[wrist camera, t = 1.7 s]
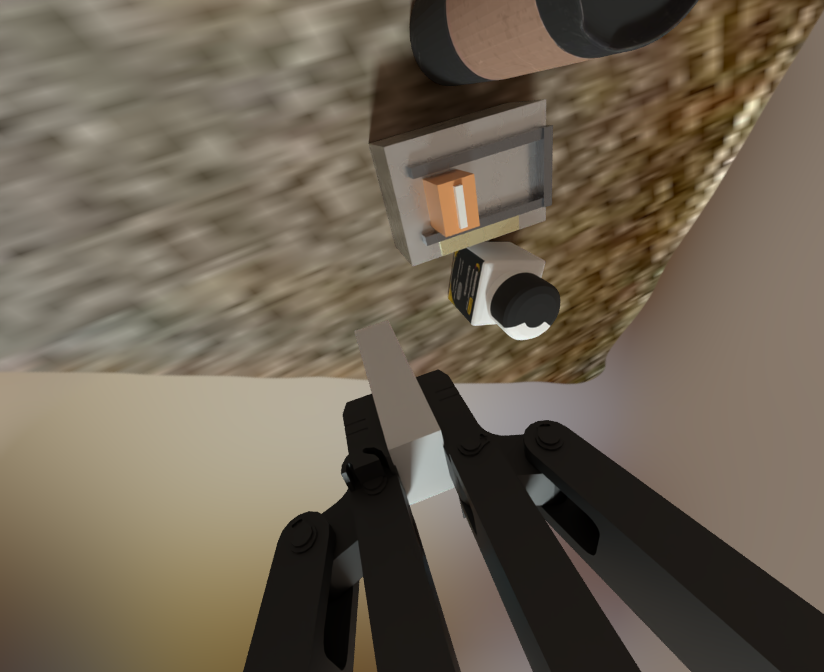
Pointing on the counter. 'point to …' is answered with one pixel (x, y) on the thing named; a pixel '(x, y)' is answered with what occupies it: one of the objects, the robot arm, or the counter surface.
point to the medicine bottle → (503, 289)
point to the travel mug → (530, 34)
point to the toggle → (452, 201)
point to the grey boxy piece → (475, 153)
